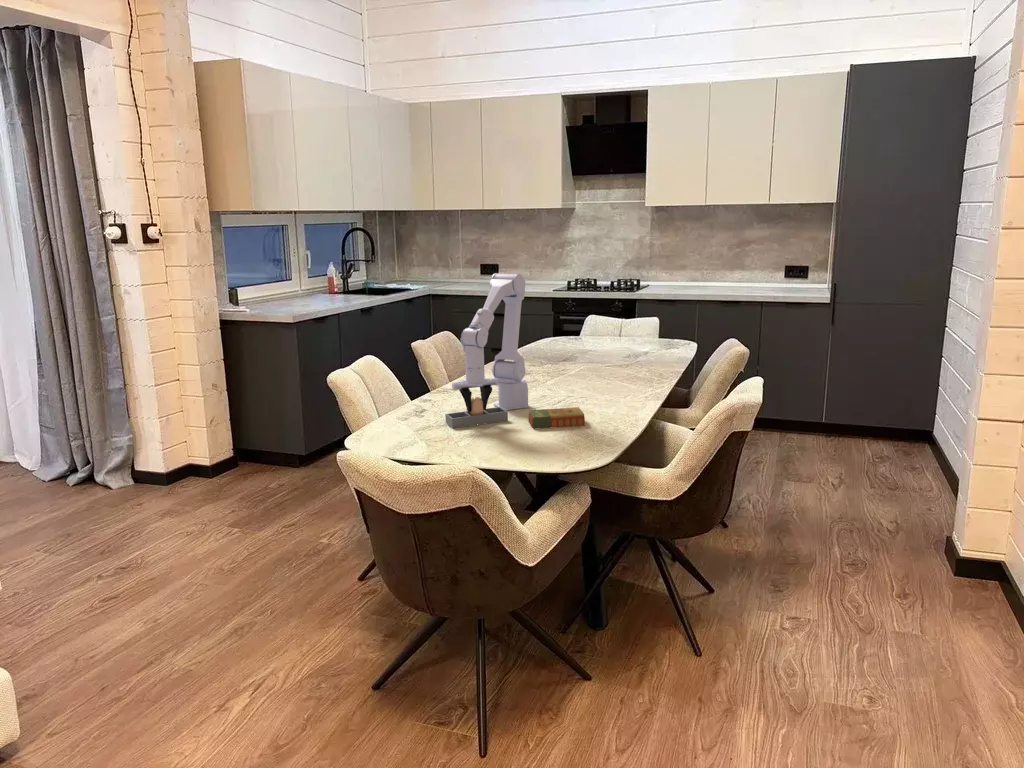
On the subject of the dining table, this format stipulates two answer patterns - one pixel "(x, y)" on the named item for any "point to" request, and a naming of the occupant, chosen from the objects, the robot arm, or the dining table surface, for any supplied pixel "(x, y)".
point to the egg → (476, 406)
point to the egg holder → (476, 417)
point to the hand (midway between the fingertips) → (476, 410)
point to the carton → (556, 418)
